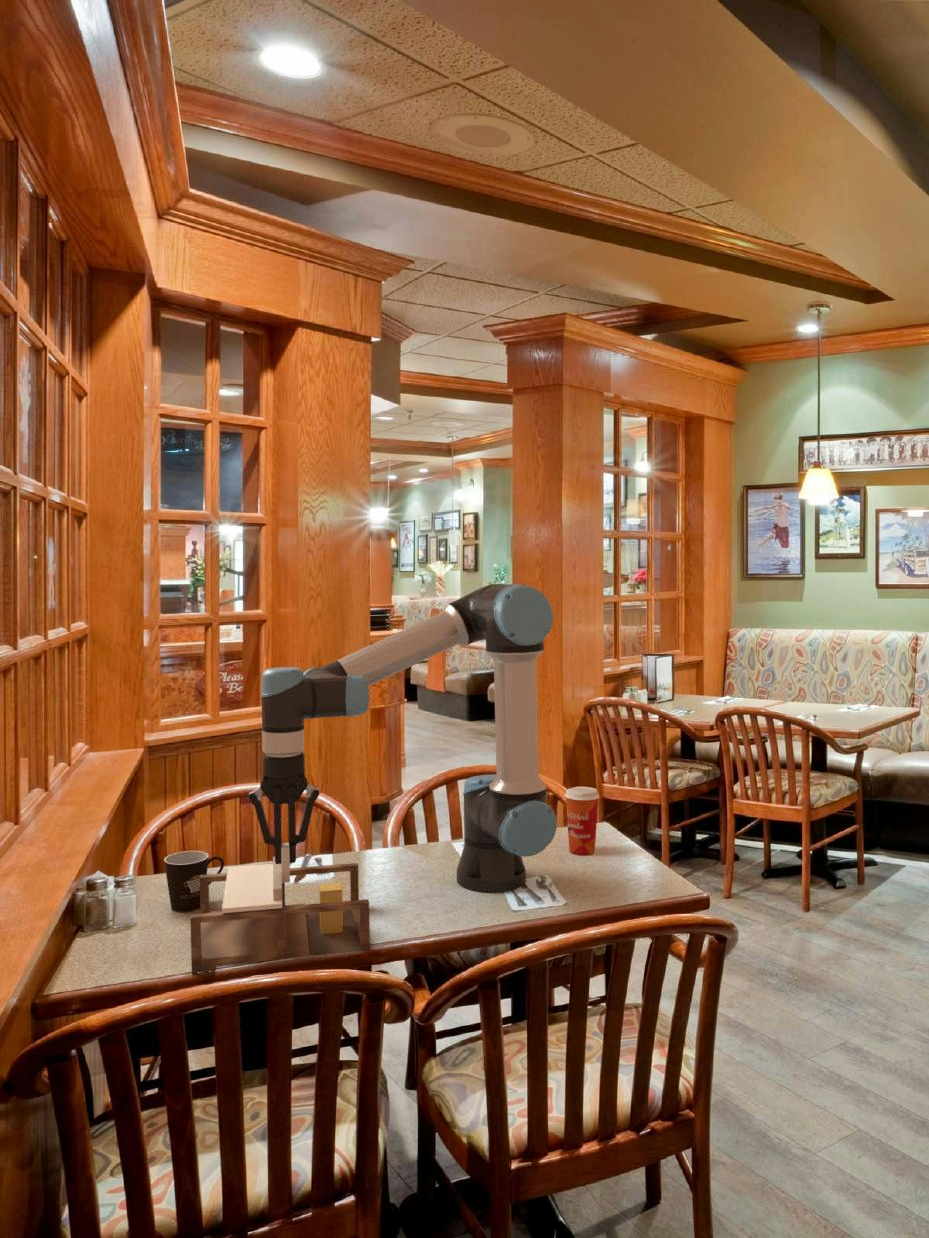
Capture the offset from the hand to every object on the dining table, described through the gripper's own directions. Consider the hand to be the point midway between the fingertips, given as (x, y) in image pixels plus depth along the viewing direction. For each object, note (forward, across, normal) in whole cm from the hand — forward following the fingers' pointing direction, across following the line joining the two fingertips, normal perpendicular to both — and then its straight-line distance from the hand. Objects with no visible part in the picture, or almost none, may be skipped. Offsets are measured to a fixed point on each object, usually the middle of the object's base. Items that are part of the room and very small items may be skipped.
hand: (285, 880), depth 162 cm
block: (+10, -8, 0) cm, 13 cm away
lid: (+1, +6, 0) cm, 6 cm away
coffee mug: (+11, +18, -22) cm, 30 cm away
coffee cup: (+11, -70, -36) cm, 79 cm away
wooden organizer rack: (+11, +1, 0) cm, 11 cm away
